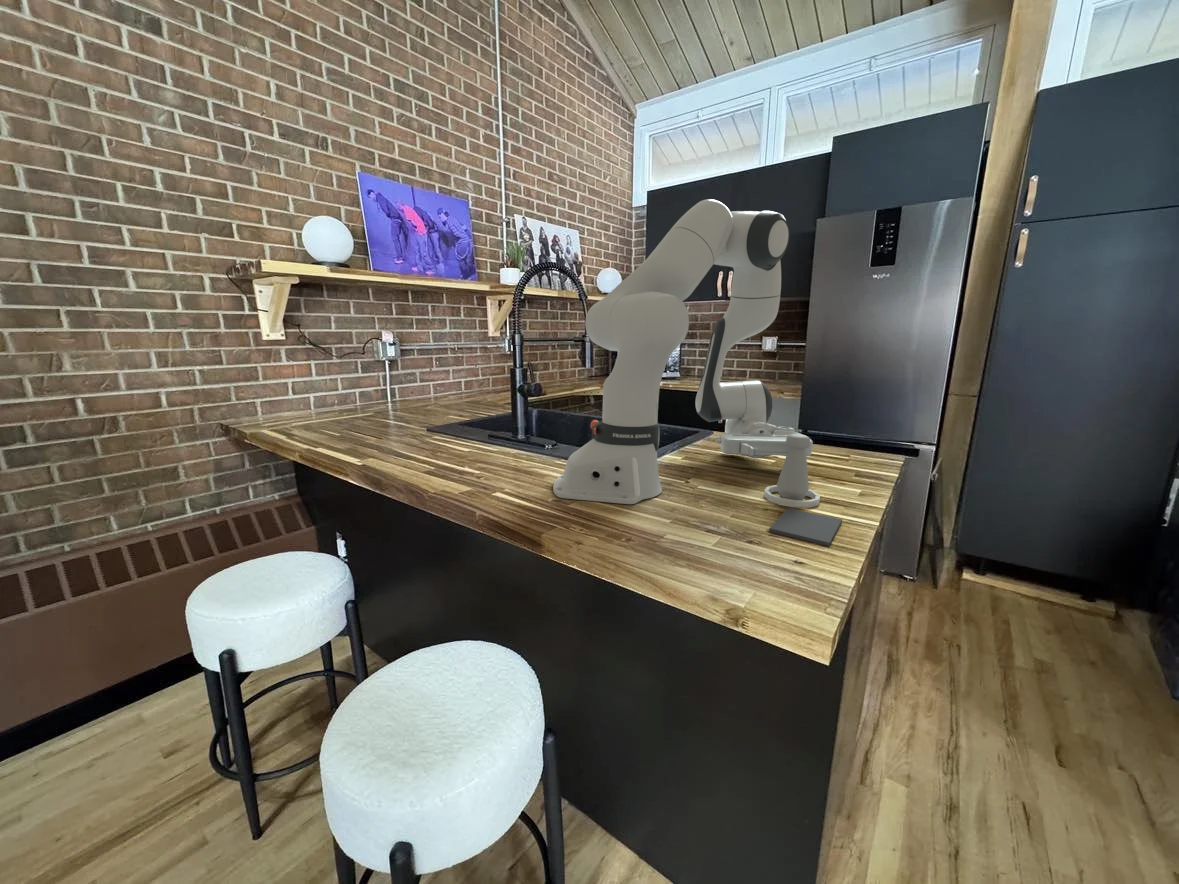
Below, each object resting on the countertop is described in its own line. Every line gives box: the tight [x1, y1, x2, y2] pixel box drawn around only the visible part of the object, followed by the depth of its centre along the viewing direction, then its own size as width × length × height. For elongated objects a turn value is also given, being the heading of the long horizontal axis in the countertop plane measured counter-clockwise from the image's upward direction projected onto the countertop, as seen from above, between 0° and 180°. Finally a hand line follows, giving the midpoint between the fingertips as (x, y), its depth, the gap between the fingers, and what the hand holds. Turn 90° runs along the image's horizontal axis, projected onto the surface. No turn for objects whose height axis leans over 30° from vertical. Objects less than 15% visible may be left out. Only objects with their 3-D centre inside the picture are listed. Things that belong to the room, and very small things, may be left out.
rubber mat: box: [768, 507, 843, 547], centre depth 80 cm, size 12×9×1 cm
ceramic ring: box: [763, 484, 821, 509], centre depth 94 cm, size 10×10×1 cm
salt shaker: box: [776, 433, 811, 500], centre depth 93 cm, size 6×6×13 cm
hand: (776, 453), depth 102 cm, fingers open, 8 cm apart
